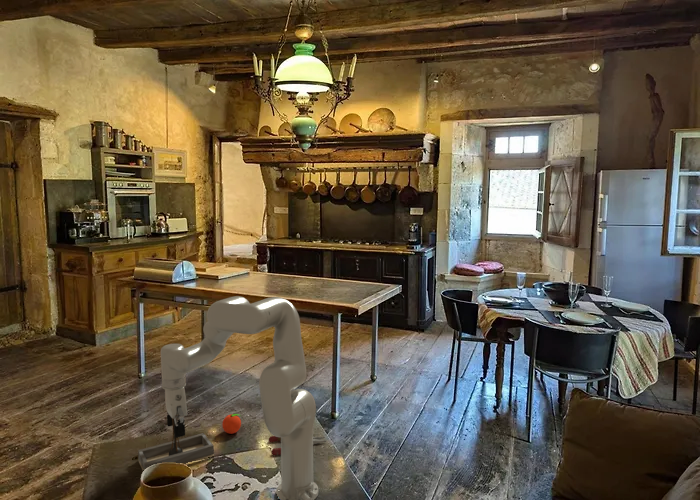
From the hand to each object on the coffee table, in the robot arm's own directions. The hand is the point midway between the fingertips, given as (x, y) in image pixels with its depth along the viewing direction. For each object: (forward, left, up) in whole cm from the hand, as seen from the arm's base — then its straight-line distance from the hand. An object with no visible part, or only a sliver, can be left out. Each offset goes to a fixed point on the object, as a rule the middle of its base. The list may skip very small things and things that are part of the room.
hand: (176, 430), depth 166 cm
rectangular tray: (0, 0, -10) cm, 10 cm away
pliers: (-15, -37, -11) cm, 42 cm away
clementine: (+8, -23, -10) cm, 26 cm away
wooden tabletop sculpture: (0, 0, -9) cm, 9 cm away
